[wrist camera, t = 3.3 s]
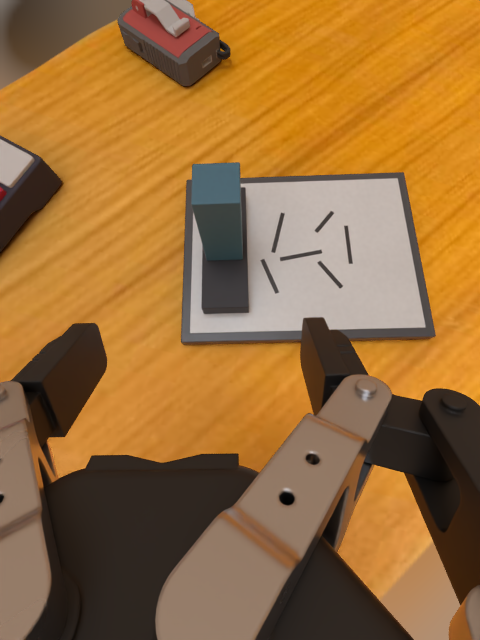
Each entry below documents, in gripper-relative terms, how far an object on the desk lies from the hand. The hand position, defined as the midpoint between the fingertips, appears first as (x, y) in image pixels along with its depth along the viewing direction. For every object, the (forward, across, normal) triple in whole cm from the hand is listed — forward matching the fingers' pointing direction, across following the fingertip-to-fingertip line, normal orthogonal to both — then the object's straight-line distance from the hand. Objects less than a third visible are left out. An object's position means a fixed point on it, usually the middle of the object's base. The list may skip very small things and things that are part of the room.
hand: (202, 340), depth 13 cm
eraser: (+19, 0, -2) cm, 19 cm away
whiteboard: (+20, +7, -3) cm, 21 cm away
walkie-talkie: (+42, -8, +19) cm, 46 cm away
